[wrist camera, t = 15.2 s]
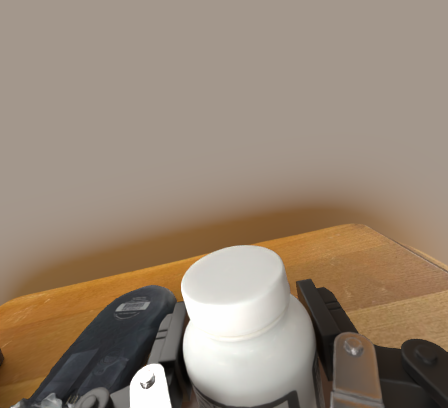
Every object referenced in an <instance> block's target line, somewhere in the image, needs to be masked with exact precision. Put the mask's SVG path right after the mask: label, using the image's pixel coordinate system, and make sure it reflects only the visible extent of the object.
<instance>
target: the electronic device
mask: <svg viewBox="0 0 448 408" xmlns="http://www.w3.org/2000/svg"><path fill="white" fill-rule="evenodd" d="M176 303H177V299H176V298H175V296H174V294H173V293H172V292H171V291H170V290H169V289H167V288H165V287H161V286H156V285H150V286H145V287H142V288H139V289H136V290H134V291H131V292H128V293H126V294H124V295H122V296H120V297H119V298H116V299H115V300H114V301H113V302H111V303H110V304H109V305H107V307H106V308H104V310H102V311H101V312H100V313H99V314H98V316H97V317H96V318H95V319H94V320H93V321H92V322H91V323H90V324H89V325H88V326H87V327H86V329H85V330H84V331H83V332H82V333H81V335H80V336H79V337H78V338H77V339H76V341H75V342H74V343H73V344H72V345H71V346H70V347H69V349H68V350H67V351H66V352H65V353H64V354H63V356H62V357H61V358H60V360H59V361H58V362H57V363H56V364H55V366H54V367H53V368H52V369H51V371H50V373H49V374H48V376H47V377H46V378H45V379H44V381H43V382H42V383H41V385H40V386H39V388H38V389H37V390H36V391H35V393H34V394H33V395H32V396H31V398H29V399H25V398H23V399H22V400H20V401H19V402H18V403H17V404H16V405H13V406H11V407H10V408H73V407H74V405H75V404H76V403H77V401H78V400H79V399H80V398H81V397H82V396H83V395H85V394H86V393H87V392H89V391H91V390H93V389H95V388H98V387H103V388H106V389H107V390H108V392H109V394H112V393H114V392H116V391H119V390H121V389H123V388H125V387H127V386H129V385H130V383H131V381H132V379H133V377H134V376H135V374H136V373H137V372H138V371H139V370H140V369H142V368H143V366H144V364H145V363H146V361H147V359H148V356H149V354H150V353H151V350H152V347H153V344H154V341H155V340H156V336H157V333H158V330H159V327H160V324H161V322H162V321H163V319H164V318H165V317H166V316H167V314H172V313H173V311H174V307H175V304H176Z"/></svg>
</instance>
